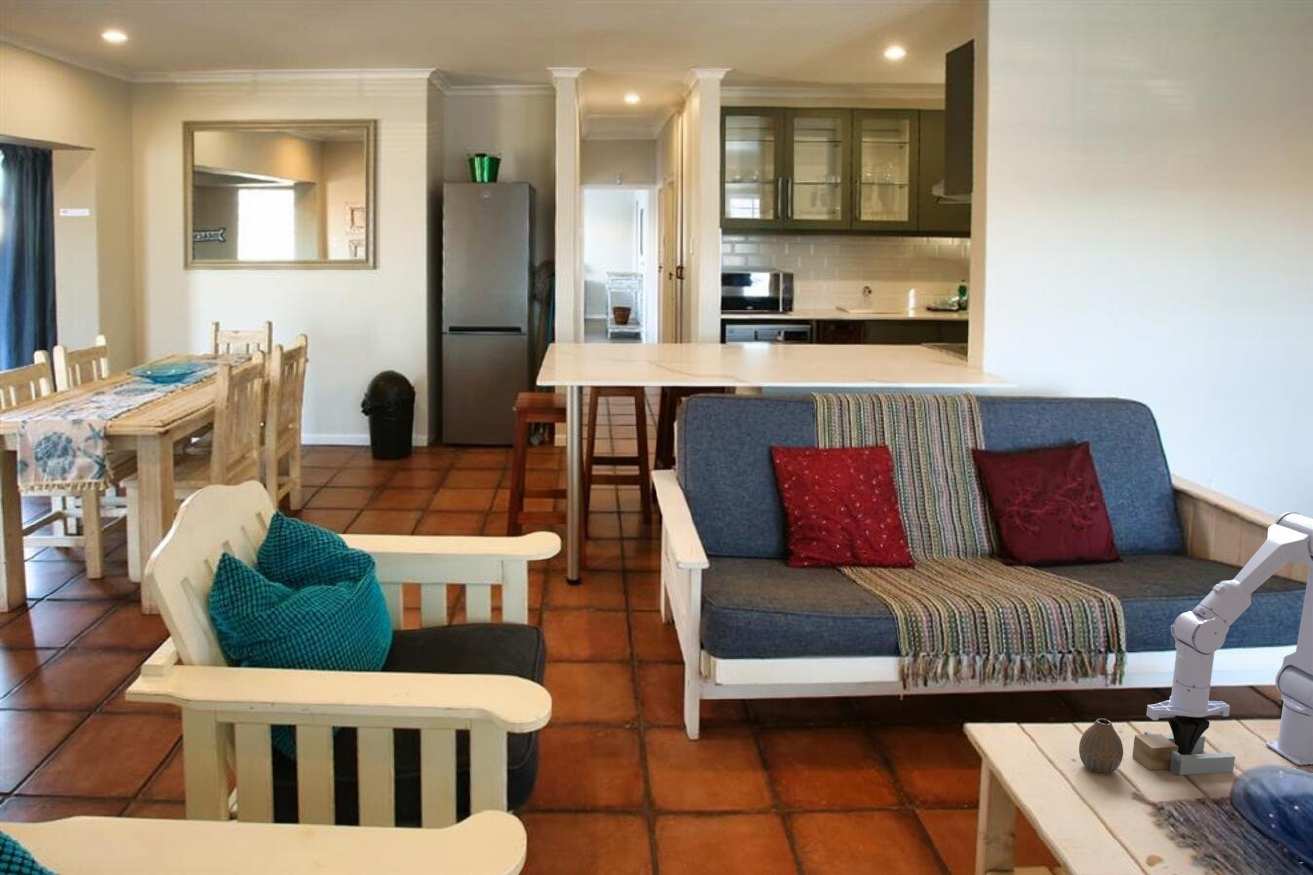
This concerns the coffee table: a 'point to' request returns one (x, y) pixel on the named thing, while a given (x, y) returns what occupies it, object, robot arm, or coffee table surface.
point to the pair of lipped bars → (1199, 760)
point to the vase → (1101, 748)
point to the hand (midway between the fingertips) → (1182, 754)
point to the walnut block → (1153, 751)
